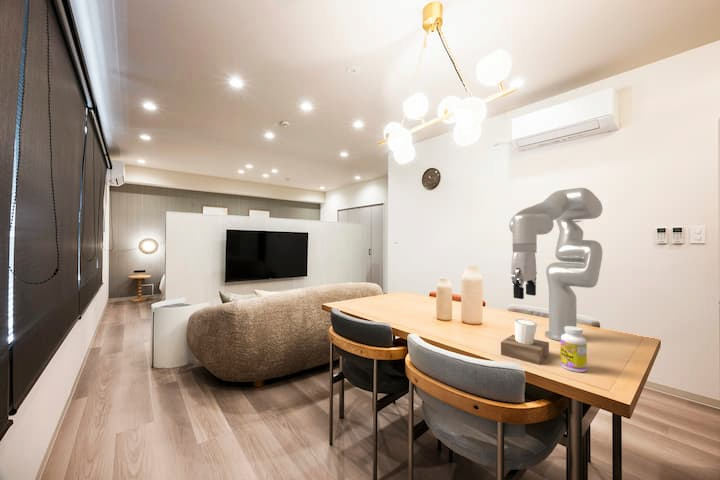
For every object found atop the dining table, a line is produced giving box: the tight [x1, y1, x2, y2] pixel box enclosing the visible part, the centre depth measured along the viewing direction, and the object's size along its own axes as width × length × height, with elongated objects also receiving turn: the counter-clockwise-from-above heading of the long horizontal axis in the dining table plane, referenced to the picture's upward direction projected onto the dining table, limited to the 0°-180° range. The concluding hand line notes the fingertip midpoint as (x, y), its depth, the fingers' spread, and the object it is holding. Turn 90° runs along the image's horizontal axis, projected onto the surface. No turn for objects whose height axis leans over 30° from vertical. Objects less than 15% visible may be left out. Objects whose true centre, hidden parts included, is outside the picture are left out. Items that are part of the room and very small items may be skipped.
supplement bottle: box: [560, 326, 588, 373], centre depth 92 cm, size 7×7×13 cm
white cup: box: [514, 318, 538, 345], centre depth 103 cm, size 7×7×7 cm
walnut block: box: [500, 334, 550, 366], centre depth 103 cm, size 12×12×5 cm
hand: (524, 296), depth 104 cm, fingers open, 9 cm apart
